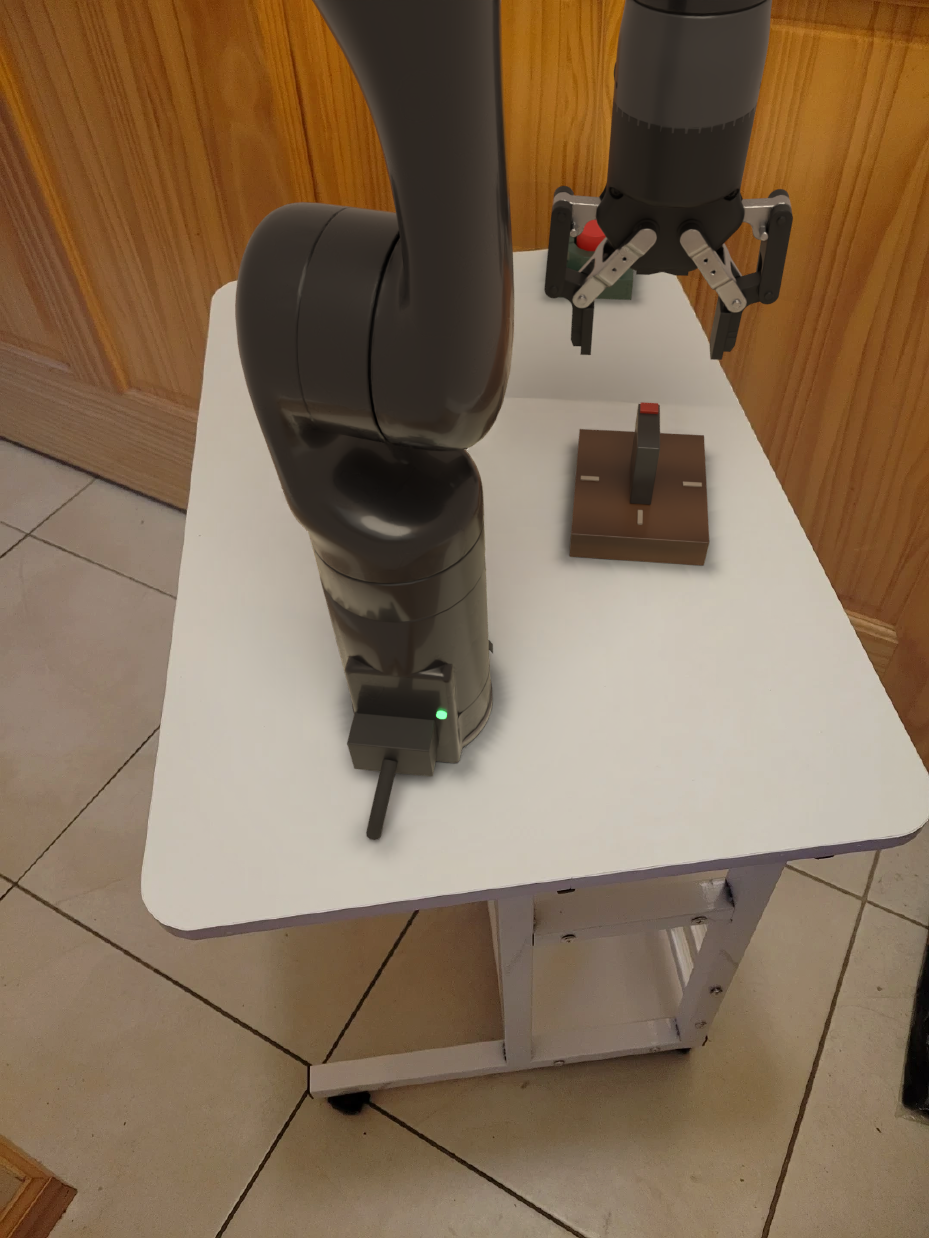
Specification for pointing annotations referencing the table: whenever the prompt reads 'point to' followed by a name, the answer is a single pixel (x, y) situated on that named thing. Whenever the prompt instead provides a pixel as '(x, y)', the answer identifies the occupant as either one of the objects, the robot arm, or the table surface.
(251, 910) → the table surface
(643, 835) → the table surface
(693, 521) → the panel
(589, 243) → the button
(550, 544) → the table surface
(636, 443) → the lock knob
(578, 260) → the button box
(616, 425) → the table surface
